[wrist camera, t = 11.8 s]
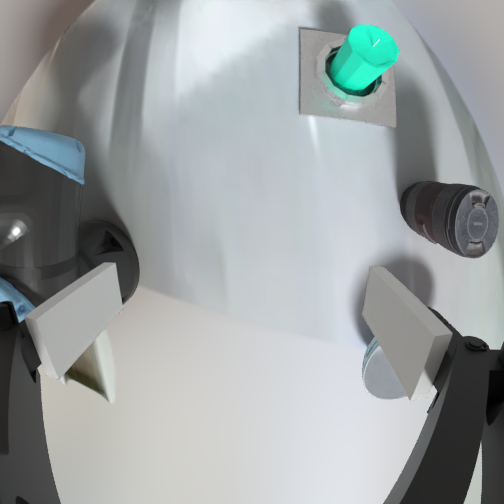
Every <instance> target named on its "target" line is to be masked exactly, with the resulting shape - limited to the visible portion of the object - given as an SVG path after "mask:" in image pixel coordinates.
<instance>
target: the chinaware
mask: <svg viewBox="0 0 504 504" xmlns="http://www.w3.org/2000/svg"><path fill="white" fill-rule="evenodd" d="M362 377H363V383H364V386H365V389H366V390H367V391H368V393H369V394H371V395H372V396H374V397H376V398H379V399H383V400H393V399H399V398H403V397H405V396H407V394H406V392H405V390H404V388H403V387H402V385H401V383H400V381H399V379H398V377H397V375H396V374H395V372H394V370H393V368H392V366H391V364H390V363H389V361H388V359H387V357H386V356H385V354H384V352H383V350H382V349H381V347H380V345H379V343H378V342H377V340H376V338H375V337H374V338H373V339H372V341H371V342H370V344H369V346H368V348H367V350H366V353H365V356H364V360H363V368H362Z"/></svg>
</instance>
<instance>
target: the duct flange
mask: <svg viewBox="0 0 504 504" xmlns="http://www.w3.org/2000/svg"><path fill="white" fill-rule="evenodd" d="M346 37H347V35H344V34H338V33H331V32H324V31H316V30H306V29H300V115H302V116H313V117H323V118H332V119H340V120H348V121H355V122H361V123H368V124H374V125H379V126H385V127H390V128H396V93H395V77H394V65H392V66H391V67H390V68H388V69H387V70H386V71H385V72H384V73H382V74H381V75H380V76H379V77H378V78H376V79H375V80H374V81H373V82H372V83H371V84H369V85H368V86H367V87H366V88H365V89H364V90H362V91H356V92H351V91H348V90H345V89H343V88H341V87H340V86H339V85H338V84H337V83H336V82H335V81H334V80H333V78H332V75H331V72H330V69H331V65H332V62H333V60H334V58H335V56H336V55H337V53H338V51H339V49H340V48H341V46H342V44H343V42H344V41H345V39H346Z"/></svg>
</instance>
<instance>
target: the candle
mask: <svg viewBox="0 0 504 504" xmlns="http://www.w3.org/2000/svg"><path fill="white" fill-rule="evenodd" d="M398 54H399V49H398V47H397V45H396V42H395V40H394V39H393V38H392V37H391V36H390V35H389V34H388V33H387V32H386V31H385V30H383V29H380V28H378V27H375V26H372V25H360V24H359V25H357V26H356V27H354V28H352V29H351V30H350V32H349V34H348V35H347V37H346V39H345V41H344V42H343V44H342V46H341V48H340V49H339V51H338V53H337V55H336V56H335V58H334V60H333V62H332V65H331V69H330V72H331V75H332V78H333V80H334V81H335V82H336V83H337V84H338V85H339V86H340V87H341V88H343V89H345V90H348V91H351V92H356V91H362V90H364V89H365V88H366V87H367V86H368V85H369V84H371V83H372V82H373V81H374V80H375V79H376V78H378V77H379V76H380V75H381V74H382V73H384V72H385V71H386V70H387V69H388V68H390V67H391V66H392V65H393V64H394V63H396V62H397V58H398Z"/></svg>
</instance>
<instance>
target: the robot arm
mask: <svg viewBox="0 0 504 504" xmlns="http://www.w3.org/2000/svg"><path fill="white" fill-rule="evenodd" d="M85 156H86V153H85V148H84V146H83V145H82V143H81V142H80V141H78V140H77V139H74V138H72V137H68V136H65V135H61V134H57V133H53V132H48V131H44V130H38V129H33V128H26V127H16V126H9V125H1V126H0V504H61V503H60V499H59V496H58V493H57V489H56V485H55V481H54V477H53V473H52V469H51V464H50V459H49V454H48V449H47V443H46V436H45V429H44V422H43V412H42V402H41V384H40V374H39V371H38V369H37V368H38V366H40V365H41V364H42V366H43V368H44V370H45V373H46V375H47V376H50V377H53V378H56V379H58V380H59V379H60V378H61V377H62V376H63V375H64V373H65V372H66V371H67V370H68V369H69V368H70V367H71V365H72V364H73V363H74V362H75V361H76V360H77V359H78V358H79V356H80V355H81V354H82V353H83V352H84V351H85V350H86V349H87V348H88V346H89V345H90V344H91V343H92V342H93V341H94V340H95V339H96V338H97V337H98V336H99V334H100V333H101V332H102V331H103V330H104V329H105V328H106V327H107V326H108V325H109V324H110V323H111V322H112V321H113V319H114V318H115V317H116V316H117V315H118V314H119V313H120V312H121V311H122V310H123V304H124V303H125V302H127V301H128V300H129V298H131V297H132V295H133V294H134V292H135V290H136V288H137V285H138V281H139V263H138V259H137V255H136V252H135V250H134V248H133V246H132V244H131V242H130V241H129V239H128V238H127V237H126V235H125V234H124V233H123V232H122V231H121V230H120V229H119V228H117V227H116V226H114V225H113V224H111V223H109V222H106V221H102V220H91V221H88V222H85V223H82V224H80V209H81V197H82V189H83V185H84V183H85V180H84V166H85ZM362 316H363V318H364V319H365V321H366V323H367V324H368V326H369V328H370V330H371V331H372V333H373V335H374V336H375V338H376V340H377V342H378V343H379V345H380V347H381V349H382V350H383V352H384V354H385V356H386V357H387V359H388V361H389V363H390V364H391V366H392V368H393V370H394V372H395V374H396V375H397V377H398V379H399V381H400V383H401V385H402V387H403V388H404V390H405V392H406V394H407V396H408V398H409V400H410V401H412V400H417V399H421V398H426V397H427V396H428V394H429V392H430V390H431V388H432V386H433V385H434V386H435V388H436V389H437V393H436V395H435V398H434V400H433V402H432V404H431V406H430V407H429V410H428V411H427V413H428V416H427V419H426V421H425V424H424V426H423V428H422V431H421V433H420V436H419V438H418V440H417V442H416V444H415V447H414V449H413V451H412V453H411V455H410V457H409V459H408V461H407V463H406V465H405V467H404V469H403V471H402V473H401V475H400V476H399V478H398V480H397V482H396V483H395V485H394V487H393V489H392V490H391V492H390V494H389V495H388V497H387V499H386V500H385V502H384V503H383V504H463V503H464V500H465V498H466V495H467V491H468V489H469V486H470V482H471V479H472V476H473V472H474V468H475V464H476V461H477V456H478V452H479V448H480V442H481V444H482V494H481V504H504V342H503V345H502V347H501V350H490V349H489V346H488V345H487V344H486V342H484V341H483V340H481V339H479V338H476V337H472V336H464V337H463V336H462V335H461V334H460V333H459V332H458V331H457V330H456V329H455V328H454V327H453V326H452V325H451V324H448V321H447V320H446V319H444V317H443V316H442V315H440V314H439V313H438V312H437V311H436V310H434V309H432V308H430V307H426V306H425V305H424V304H423V303H422V302H421V301H420V300H419V299H418V298H417V297H416V296H415V295H414V294H413V293H412V292H410V291H409V290H408V289H407V288H406V287H405V286H404V285H403V284H402V283H401V282H400V281H399V280H398V279H396V278H395V277H394V276H393V275H392V274H391V273H390V272H389V271H388V270H387V269H385V268H384V267H383V266H369V273H368V281H367V288H366V294H365V301H364V307H363V313H362Z"/></svg>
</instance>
